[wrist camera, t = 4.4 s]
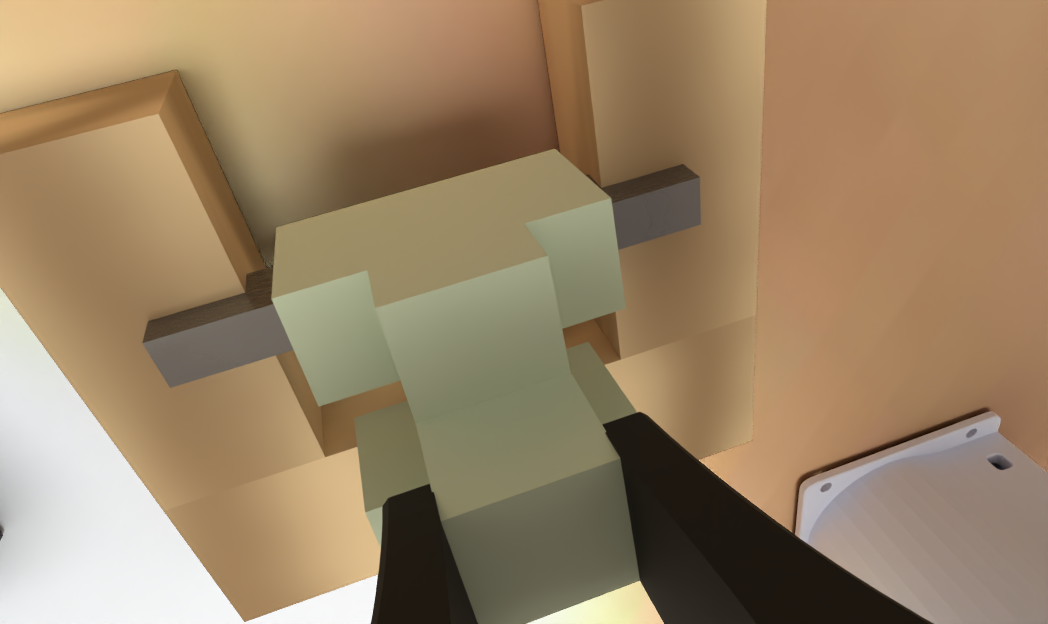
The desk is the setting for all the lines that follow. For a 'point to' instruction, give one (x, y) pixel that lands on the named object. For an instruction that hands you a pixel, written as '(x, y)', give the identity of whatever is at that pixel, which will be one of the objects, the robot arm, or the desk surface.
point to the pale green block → (477, 370)
